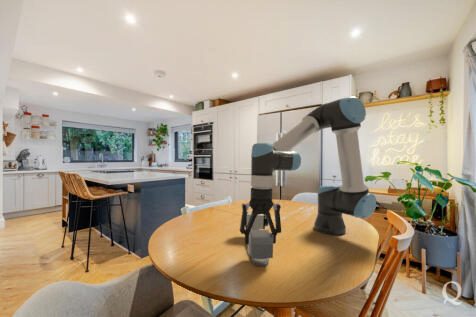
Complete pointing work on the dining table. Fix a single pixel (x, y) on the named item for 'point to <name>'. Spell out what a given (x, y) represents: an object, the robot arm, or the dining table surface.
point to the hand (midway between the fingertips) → (260, 252)
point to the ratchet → (260, 262)
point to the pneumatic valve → (257, 221)
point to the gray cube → (261, 244)
